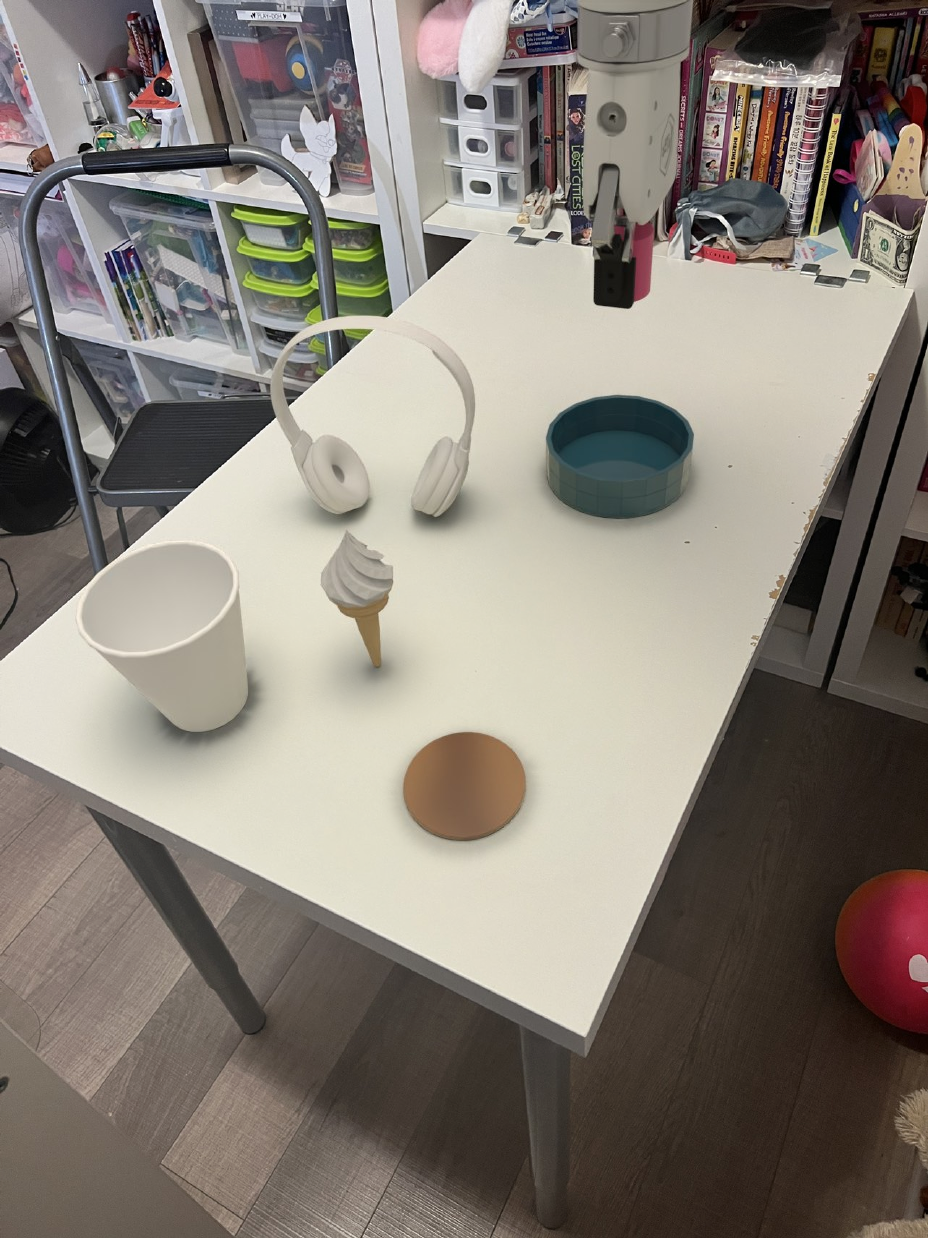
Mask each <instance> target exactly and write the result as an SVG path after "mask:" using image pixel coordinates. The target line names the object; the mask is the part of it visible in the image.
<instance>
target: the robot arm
mask: <svg viewBox="0 0 928 1238" xmlns="http://www.w3.org/2000/svg"><path fill="white" fill-rule="evenodd" d="M693 7H694V0H577V53H576V54H577V59H576V61H577V63H578V64H579V65H580V66H582V67H583V68H585V69H588V73H587V74H588V75H587V84H586V85H587V86H586V97H585V98H586V100H585V112H584V113H585V114H584V132H583V150H582V151H583V153H582V207H583V214H584V216H585V218H586V219H588V221H590V222H593V224H592V231H591V236H590V241H591V244H592V245H593V294H592V295H593V304H594V305H595V306H598V307H607V308H615V309H624V310H629V309H632V307H633V306H634V304H635V302H634V294H635V275H636V257H632V253H633V243H634V234H635V224H636V222H638V225H644V224H646V223H647V222H649V223H650V224H651V225H652V226H654V220H655V215H656V213H657V211H658V209H659V208H660V207H661V205H662V204H663V202H664V200H665V198H666V197H667V195H668V193H669V192H670V190H671V188H672V187H673V184H674V182H675V180H676V177H677V168H678V151H679V150H678V149H679V147H678V146H679V126H680V125H679V123H680V99H681V62H683V61H684V60H686V59H687V58H688V56H689V55H690V43H691V42H690V41H691V32H692V21H693V10H694V9H693ZM614 226H620V227H625V230H624V240H622V237H621V235H620V234H615V231H614Z"/></svg>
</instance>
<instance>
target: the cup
mask: <svg viewBox="0 0 928 1238" xmlns="http://www.w3.org/2000/svg"><path fill="white" fill-rule="evenodd" d="M241 608H242V607H241V598H240V574H239V570H238V568H237V566H236V564H235V562H234V560H233V558H232V557H230V555H228V553H226V552H224V551H223V550H222V549H221V548H219V547H216V546H214V545H212V544H210V543H208V542H202V541H197V540H191V539H175V540H173V539H171V540H165V541H159V542H156V543H155V542H154V543H150V544H147V545H144V546H142V547H138V548H135V549H133V550H131V551H129V552H127V553H125V554H123V555H121V556H120V557H117V558H116V559H114V560H112V561H111V562H110V563H109V564H108V565H106V566H105V567H104V568H102V569H101V570H100V571H98V572H97V573H96V574H95V576H93V578H92V579H91V580H90V581H89V582H88V584H87V585H85V588H84V589H83V591H82V593H81V596H80V597H79V599H78V601H77V603H76V610H75V617H74V618H75V619H74V620H75V623H76V627H77V631H78V634H79V635H80V637H81V638H82V639H83V641H84V642H85V643H86V644H87V646H89V647H90V648H92V649H93V650H95V651H96V652H97V653H98V654H99V655H100V656H101V657H102V658H103V659H105V661H107V663H109V665H110V666H112V667H113V668H114V669H115V670H116V671H117V672H118V673H119V674H120V675H121V676H122V677H123V678H124V679H125V680H126V681H127V682H129V684H130V685H132V687H133V688H135V689H136V690H137V691H138V692H139V693H140V694H141V695H142V696H143V697H144V698H145V699H146V700H148V702H149V703H151V705H153V707H154V708H156V709H157V710H158V711H159V712H160V713H161V714H162V715H163V716H164V717H165V718H167V719H168V720H169V721H170V723H172V724H173V726H175V727H177V728H179V729H180V730H182V731H186V732H191V733H204V732H208V731H212V730H216V729H218V728H220V727H222V726H225V725H226V724H228V723H230V722H231V721H232V720H234V719H235V718H236V716H238V715H239V714H240V713H241V712H242V710H243V708H244V707H245V706H246V704H247V701H248V697H249V682H248V669H247V660H246V649H245V639H244V638H245V637H244V630H243V629H244V628H243V619H242V609H241Z"/></svg>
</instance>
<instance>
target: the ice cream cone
mask: <svg viewBox="0 0 928 1238" xmlns="http://www.w3.org/2000/svg"><path fill="white" fill-rule="evenodd" d="M384 558H385V555H384V554H383V553H381V552H379V551H378V550H376V549H369V548H368V544H366V543H364V542H363V541H361V540H359V539H357V538H356V537H355V536H354V535H353V534H352V533H351V532H349V530H347V529H346V530H345V532H344V534H343V538H342V540H341V541H340V544H339V546H338V547H337V548H336V550H335V551H334V553H333V554H332V556H331V558H330V559H329V560H328V562H327V563H326V565H325V566H324V568H323V569H322V571H321V576H320V587H321V588H322V590H323V592H324V593H325V595H326V597H327V598H328V600H329V601H330V602H331V603H333V604H334V605H336V607H337V609H338V610H339V612H340V613H341V614H343V616H346V617H348V618H352V619H354V621H355V622H356V626H357V629H358V632H359V634H360V637H361V638H362V640H363V643H364V645H365V648H366V651H367V652H368V655H369V658H370V660H371V663H372V664H373V666H374V667H376V668H377V667H381V665H382V651H381V650H382V649H381V647H382V646H381V628H380V616H379V613H380V612H381V611H384V609H385V608H386V606H387V605H388V603H389V600H390V596H389V594H390V592H391V591H392V589H393V585H394V565H392V564H386V563H384V562H383V561H382V559H384Z"/></svg>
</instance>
